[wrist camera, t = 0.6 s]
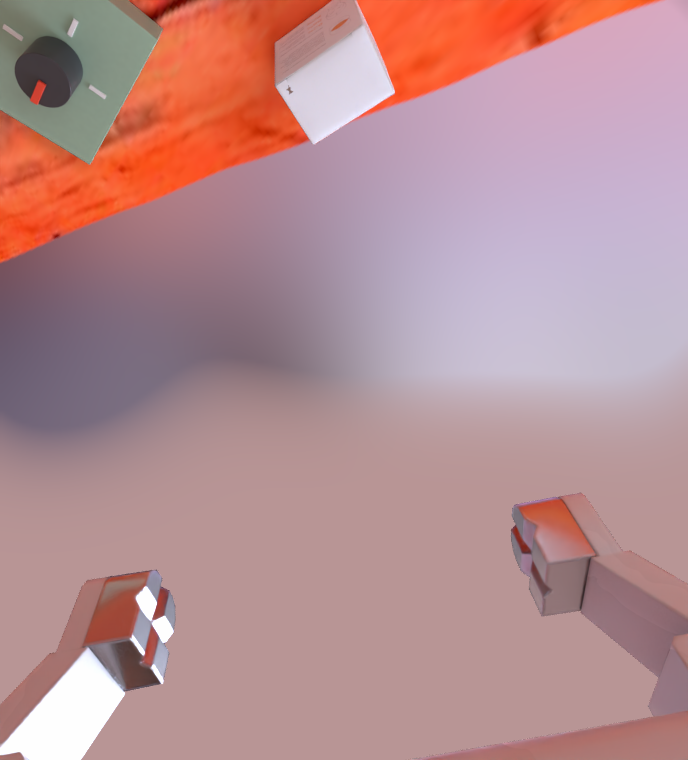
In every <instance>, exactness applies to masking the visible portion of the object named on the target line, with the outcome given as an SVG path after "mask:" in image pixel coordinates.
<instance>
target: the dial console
mask: <svg viewBox="0 0 688 760" xmlns="http://www.w3.org/2000/svg"><path fill="white" fill-rule="evenodd" d="M162 30H163V29H162V28H161V27H160V26H159V25H158V24H156V23H155V22H154V21H153V20H152V19H150V18H149V17H148V16H147V15H145V14H144V13H143V12H142V11H141V10H139V9H138V8H137V7H136V6H135V5H133V4H132V3H131V2H130V1H128V0H0V110H1V111H3V112H5V113H6V114H8V115H9V116H11V117H13V118H14V119H16V120H18V121H19V122H21V123H23V124H24V125H26V126H27V127H29V128H31V129H32V130H34V131H36V132H37V133H39V134H40V135H42V136H44V137H45V138H47V139H49V140H50V141H52V142H53V143H55V144H57V145H58V146H60V147H62V148H63V149H65V150H67V151H68V152H70V153H71V154H73V155H75V156H76V157H78V158H80V159H81V160H83V161H84V162H86V163H88V164H89V165H90V164H91V162H92V160H93V159H94V157H95V155H96V153H97V151H98V149H99V147H100V146H101V144H102V142H103V140H104V138H105V136H106V135H107V133H108V131H109V129H110V127H111V125H112V124H113V122H114V120H115V118H116V116H117V114H118V113H119V111H120V109H121V107H122V105H123V103H124V102H125V100H126V98H127V96H128V94H129V92H130V91H131V89H132V87H133V85H134V83H135V81H136V80H137V78H138V76H139V74H140V72H141V70H142V69H143V67H144V65H145V63H146V61H147V59H148V58H149V56H150V54H151V52H152V50H153V48H154V47H155V45H156V43H157V41H158V39H159V37H160V35H161V33H162ZM43 36H51V37H55V38H58V39H60V40H62V41H64V42H65V43H67V44H68V45H69V46H70V47H71V48H72V49H73V50H74V51H75V52H76V54H77V55H78V57H79V59H80V61H81V64H82V68H83V77H82V80H81V82H80V84H79V85H78V87H77V88H76V90H75V91H74V93H73V94H72V96H71V97H70V99H69V100H68V102H67V103H66V104H65V105H63V106H61V107H57V108H50V107H45V106H42V105H40V104H38V105H36V104H34V103H33V102H31V101H30V98H29V97H28V96H27V95H26V94H25V93H24V92H23V91H22V89H21V88H20V86H19V84H18V82H17V80H16V77H15V64H16V61H17V60H18V58H19V57H20V56H21V55H22V54H23V53H24V52H25V51H26V50H27V49H28V48H29V46H30V45H31V44H32V43H33V42H34V41H35V40H36V39H38V38H40V37H43Z"/></svg>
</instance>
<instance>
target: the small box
mask: <svg viewBox="0 0 688 760" xmlns="http://www.w3.org/2000/svg"><path fill="white" fill-rule="evenodd" d="M275 87H276V89H277V90H278V92H279V93H280V95H281V96H282V98H283V99H284V101H285V102H286V104H287V106H288V107H289V109H290V110H291V112H292V113H293V115H294V116H295V118H296V119H297V121H298V123H299V124H300V126H301V127H302V129H303V130H304V132H305V133H306V135H307V137H308V138H309V140H310V141H311V143H312V144H313V145H315V144H316V143H318V142H319V141H321V140H322V139H324V138H326V137H327V136H329V135H330V134H332V133H333V132H335V131H336V130H338V129H340V128H341V127H343V126H344V125H346V124H347V123H349V122H351V121H352V120H354V119H355V118H357V117H358V116H360V115H361V114H363V113H365V112H366V111H368V110H369V109H371V108H372V107H374V106H376V105H377V104H379V103H380V102H382V101H383V100H385V99H386V98H388V97H390V96H391V95H393V94H394V93H395V90H394V88H393V85H392V83H391V80H390V78H389V75H388V72H387V69H386V66H385V64H384V61H383V59H382V57H381V54H380V52H379V49H378V47H377V44H376V42H375V40H374V38H373V35H372V33H371V31H370V29H369V26H368V24H367V22H366V20H365V18H364V16H363V14H362V11H361V9H360V7H359V5H358V3H357V1H356V0H332V1H331V2H329V3H328V4H327V5H325V6H324V7H323V8H321V9H320V10H319V11H317V12H316V13H315V14H313V15H312V16H311V17H309V18H308V19H306V20H305V21H304V22H302V23H301V24H300V25H298V26H297V27H296V28H294V29H293V30H292V31H290V32H289V33H288V34H286V35H285V36H284V37H282V38H281V39H279V40H278V41H276V42H275Z"/></svg>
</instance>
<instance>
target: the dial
mask: <svg viewBox="0 0 688 760" xmlns="http://www.w3.org/2000/svg"><path fill="white" fill-rule="evenodd" d="M15 77H16V80H17V82H18V84H19V86H20V88H21V89H22V91H23V92H24V93H25V94H26V95H27V96H28V97H29V98H30V101H31V102H33V103H34V104H36V105H38V104H40V105H42V106H45V107H50V108H57V107H61V106H63V105H65V104H66V103H67V102H68V100H69V99H70V97H71V96H72V94H73V93H74V91H75V90H76V88H77V87H78V85H79V84H80V82H81V80H82V77H83V68H82V64H81V61H80V59H79V57H78V55H77V54H76V52H75V51H74V50H73V49H72V48H71V47H70V46H69V45H68V44H67V43H65V42H64V41H62V40H60V39H58V38H55V37H51V36H43V37H40V38H38V39H36V40H35V41H34V42H33V43H32V44H31V45H30V46H29V48H28V49H27V50H26V51H25V52H24V53H23V54H22V55H21V56H20V57H19V58H18V60H17V61H16V64H15Z"/></svg>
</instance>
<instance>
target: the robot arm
mask: <svg viewBox="0 0 688 760" xmlns="http://www.w3.org/2000/svg"><path fill="white" fill-rule="evenodd" d="M512 518H513V520H514V522H515V524H516V525H515V526H514V527H513V528H512V529H511V541H512V546H513V552H514V555H515V558H516V561H517V563H518V566H519V568H520V570H521V571H522V572H523V573H524V574H526V575H527V576H529V577H530V581H529V590H530V592H531V594H532V597H533V599H534V601H535V603H536V605H537V607H538V610H539V612H540V614H541V616H548V615H554V614H561V613H568V612H575V611H581V613H582V614H583V615H584V616H585V617H587V618H588V619H589V620H590V621H591V622H593V623H594V624H595V625H596V626H597V627H598V628H600V629H601V630H602V631H603V632H604V633H606V634H607V635H608V636H609V637H610V638H612V639H613V640H614V641H615V642H616V643H618V644H619V645H620V646H621V647H623V648H624V649H625V650H626V651H627V652H628V653H630V654H631V655H632V656H633V657H635V658H636V659H637V660H638V661H639V662H640V663H642V664H643V665H644V666H645V667H646V668H648V669H649V670H650V671H651V672H653V673H654V674H655V675H656V676H657V677H658V681H657V684H656V686H655V689H654V692H653V694H652V697H651V700H650V702H649V705H648V707H649V709H650V711H651V713H652V715H653V716H654V717H648V718H643V719H637V720H632V721H626V722H620V723H615V724H609V725H603V726H597V727H592V728H586V729H580V730H575V731H569V732H563V733H557V734H552V735H546V736H540V737H535V738H529V739H523V740H518V741H512V742H507V743H501V744H495V745H489V746H484V747H478V748H472V749H466V750H461V751H455V752H449V753H444V754H438V755H432V756H427V757H421V758H415V759H410V760H688V584H687V583H685V582H684V581H682V580H680V579H678V578H677V577H675V576H673V575H672V574H670V573H668V572H666V571H665V570H663V569H661V568H659V567H658V566H656V565H654V564H653V563H651V562H649V561H647V560H646V559H644V558H642V557H640V556H639V555H637V554H635V553H634V552H632V551H624V552H623V550H622V549H621V547H620V546H619V545H618V543H617V542H616V540H615V539H614V537H613V536H612V534H611V533H610V531H609V530H608V528H607V527H606V525H605V524H604V523H603V521H602V520H601V518H600V517H599V515H598V514H597V512H596V511H595V510H594V508H593V506H592V505H591V504H590V502H589V501H588V499H587V498H586V496H585V495H583V494H582V493H577V494H572V495H566V496H561V497H552V498H547V499H542V500H537V501H531V502H527V503H521V504H516V505H514V506H513V508H512ZM161 582H162V577H161V576H160V574H159V573H158V571H157V570H150V571H143V572H137V573H130V574H124V575H117V576H110V577H105V578H99V579H92V580H87V581H86V583H85V584H84V585H83V586H82V588H81V590H80V592H79V595H78V598H77V600H76V603H75V605H74V608H73V610H72V613H71V615H70V618H69V620H68V623H67V626H66V628H65V631H64V633H63V636H62V639H61V641H60V644H59V646H58V649H57V651H56V652H55V653H50V654H49V655H48V656H47V657H46V658H45V659H44V660H43V661H42V662H41V663H40V664H39V665H38V666H37V667H36V668H35V669H34V670H33V671H32V672H31V673H30V674H29V675H28V676H27V678H26V679H25V680H24V681H23V682H22V683H21V684H20V685H19V686H18V687H17V688H16V689H15V690H14V691H13V692H12V693H11V694H10V695H9V696H8V697H7V698H6V699H5V700H4V702H2V704H1V705H0V760H81V758H82V757H83V755H84V754H85V753H86V751H87V750H88V748H89V746H90V745H91V744H92V742H93V741H94V739H95V738H96V736H97V734H98V733H99V732H100V730H101V729H102V727H103V726H104V724H105V723H106V721H107V720H108V718H109V717H110V715H111V714H112V712H113V711H114V709H115V708H116V706H117V705H118V704H119V702H120V701H121V699H122V698H123V696H124V695H125V693H124V691H129V690H134V689H139V688H144V687H149V686H153V685H158V684H162V683H163V681H164V677H165V671H166V666H167V662H168V656H169V651H168V650H167V648H166V646H165V643H166V641H167V640H168V639H169V637H170V636H171V635H172V634H173V631H174V626H175V604H174V600H173V597H172V595H171V593H170V591H169V590H167V589H165V588H163V587H161Z"/></svg>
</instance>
